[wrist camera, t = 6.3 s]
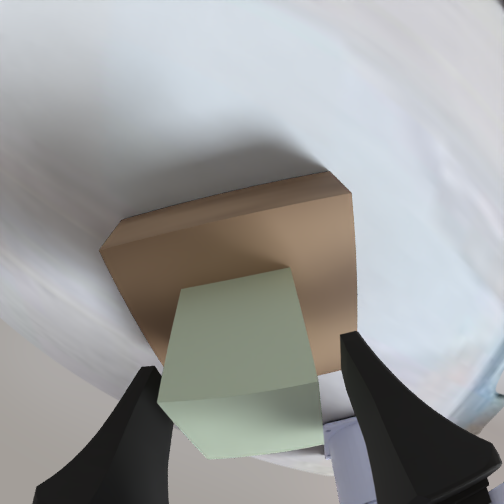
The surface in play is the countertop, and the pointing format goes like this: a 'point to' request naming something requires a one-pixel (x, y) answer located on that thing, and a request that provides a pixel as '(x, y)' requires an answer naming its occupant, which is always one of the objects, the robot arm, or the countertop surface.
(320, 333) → the walnut base
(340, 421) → the robot arm
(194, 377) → the sage cube
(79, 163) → the countertop surface
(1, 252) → the countertop surface
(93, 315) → the countertop surface
